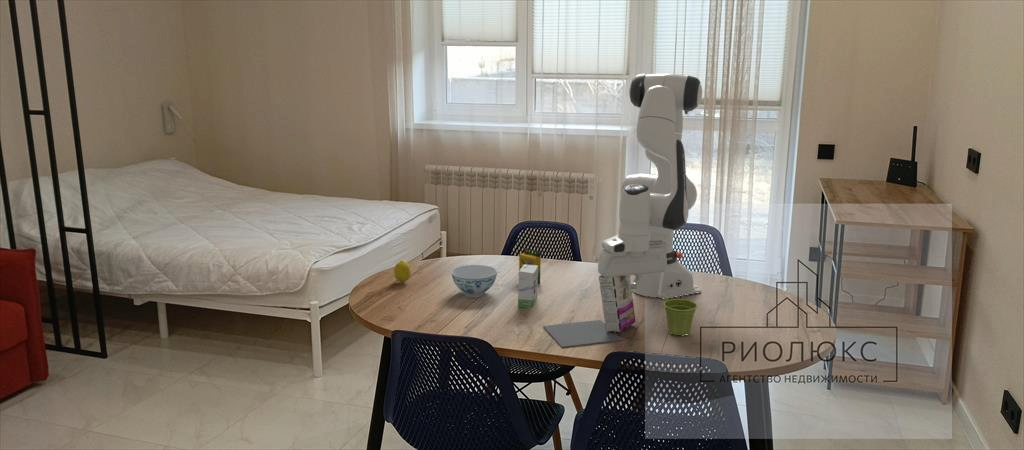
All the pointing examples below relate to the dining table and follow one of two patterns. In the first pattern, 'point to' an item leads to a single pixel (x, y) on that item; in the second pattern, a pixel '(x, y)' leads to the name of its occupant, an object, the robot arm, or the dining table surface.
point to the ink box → (528, 286)
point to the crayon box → (530, 260)
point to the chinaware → (474, 279)
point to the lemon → (402, 271)
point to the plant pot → (679, 315)
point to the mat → (581, 333)
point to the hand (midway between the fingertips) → (631, 288)
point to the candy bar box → (616, 303)
